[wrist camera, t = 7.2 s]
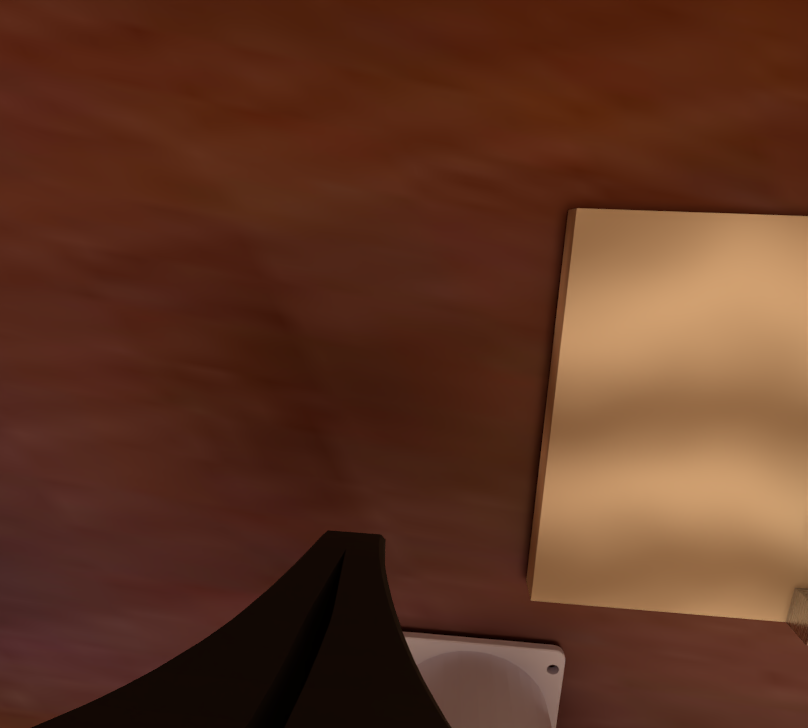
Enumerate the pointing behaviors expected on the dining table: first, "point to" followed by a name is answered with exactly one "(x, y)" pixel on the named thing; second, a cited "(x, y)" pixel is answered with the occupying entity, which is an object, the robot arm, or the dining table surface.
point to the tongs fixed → (799, 613)
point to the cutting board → (676, 416)
